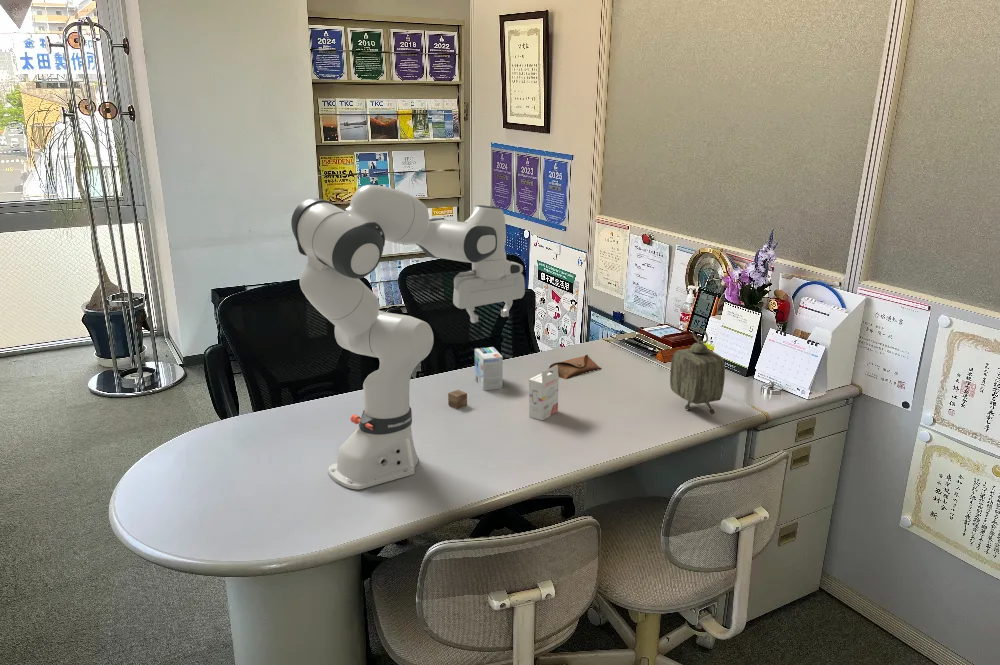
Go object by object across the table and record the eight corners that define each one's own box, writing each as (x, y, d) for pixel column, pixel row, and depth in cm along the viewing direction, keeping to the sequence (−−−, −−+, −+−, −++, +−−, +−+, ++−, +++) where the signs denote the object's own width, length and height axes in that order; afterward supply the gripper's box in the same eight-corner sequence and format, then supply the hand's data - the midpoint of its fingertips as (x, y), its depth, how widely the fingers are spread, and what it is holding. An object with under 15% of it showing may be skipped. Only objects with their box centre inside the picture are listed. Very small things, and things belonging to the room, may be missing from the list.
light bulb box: (474, 379, 238) (473, 348, 235) (493, 377, 240) (493, 346, 237) (483, 390, 229) (482, 358, 225) (503, 388, 231) (503, 356, 227)
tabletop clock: (721, 415, 210) (729, 333, 202) (695, 420, 207) (702, 337, 199) (690, 398, 223) (697, 320, 215) (666, 402, 219) (671, 323, 212)
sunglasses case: (565, 379, 238) (558, 360, 238) (552, 384, 243) (546, 366, 244) (603, 368, 248) (597, 350, 249) (590, 373, 254) (584, 355, 255)
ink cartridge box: (544, 407, 216) (545, 361, 211) (558, 411, 213) (559, 364, 209) (527, 416, 209) (528, 369, 205) (542, 421, 206) (543, 372, 202)
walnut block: (457, 409, 214) (456, 396, 213) (448, 405, 217) (448, 393, 216) (467, 405, 217) (467, 393, 216) (458, 401, 220) (458, 389, 219)
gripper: (459, 275, 179) (461, 329, 183) (528, 265, 189) (528, 315, 193) (447, 270, 184) (449, 322, 188) (514, 260, 194) (515, 310, 198)
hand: (489, 319), depth 191 cm, fingers open, 8 cm apart
